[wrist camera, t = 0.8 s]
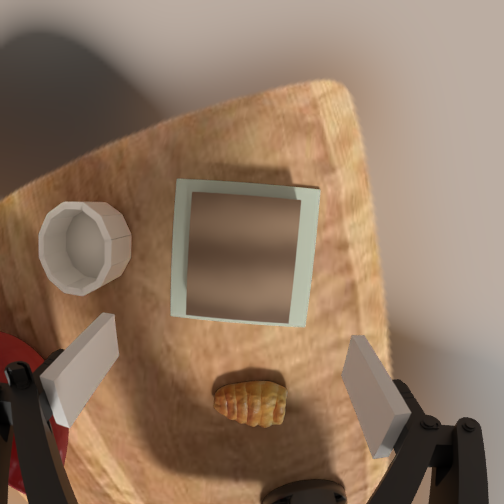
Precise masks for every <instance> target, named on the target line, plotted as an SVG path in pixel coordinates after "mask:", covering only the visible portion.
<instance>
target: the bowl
mask: <svg viewBox="0 0 504 504" xmlns="http://www.w3.org/2000/svg"><path fill="white" fill-rule="evenodd" d="M131 239H132V234H131V232H130V230H129V228H128V226H127V224H126V221H125V219H124V217H123V215H122V214H121V213H120V212H119V211H117V210H116V209H115V208H113V207H112V206H111V205H109V204H108V203H106V202H62V203H61V204H59V205H58V206H57V207H55V208H54V209H53V210H51V211H50V212H49V213H48V214H47V215H46V218H45V220H44V222H43V225H42V227H41V229H40V232H39V257H40V258H39V259H40V261H41V264H42V266H43V268H44V271H45V273H46V275H47V277H48V278H49V280H50V281H51V282H52V283H53V284H54V285H56V286H57V287H58V288H59V289H60V290H61V291H62V292H64V293H67V294H73V295H78V296H85V295H87V294H88V293H90V292H92V291H94V290H96V289H98V288H100V287H101V286H103V285H105V284H107V283H109V282H110V281H112V280H114V279H116V278H118V277H120V276H121V275H122V273H123V271H124V269H125V268H126V266H127V264H128V262H129V260H130V259H131Z"/></svg>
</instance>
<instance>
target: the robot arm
mask: <svg viewBox="0 0 504 504" xmlns="http://www.w3.org/2000/svg"><path fill="white" fill-rule="evenodd" d="M118 356H119V350H118V342H117V334H116V325H115V315H114V314H110V313H104V312H103V313H102V314H100V315H99V316H98V317H97V318H96V319H95V320H94V321H93V322H92V323H91V324H90V325H89V326H88V327H87V328H86V329H85V330H84V331H83V332H82V333H81V334H80V335H79V336H78V337H77V338H76V339H75V340H74V341H73V342H72V343H71V344H70V345H69V346H68V347H67V348H66V349H65V350H63V349H59V350H57V351H55V352H53V353H52V354H51V355H50V356H49V357H48V358H47V359H46V360H45V361H44V362H43V364H41V365H40V366H39V367H38V368H37V369H36V370H35V371H34V372H33V373H32V371H31V368H30V365H29V364H28V363H27V362H24V361H15V362H11V363H10V364H8V365H7V366H6V367H5V370H4V372H5V375H6V378H7V380H8V383H1V382H0V504H7V501H8V500H7V499H8V480H9V468H10V458H11V449H12V442H13V435H14V436H15V443H16V449H17V455H18V460H19V465H20V470H21V475H22V479H23V484H24V488H25V492H26V495H27V499H28V503H29V504H78V502H77V500H76V497H75V495H74V492H73V490H72V487H71V485H70V482H69V480H68V477H67V474H66V471H65V469H64V466H63V463H62V460H61V457H60V454H59V450H58V447H57V444H56V440H55V437H54V433H53V430H52V426H51V423H50V421H49V419H50V418H51V416H52V415H53V416H54V419H55V421H56V423H57V424H59V425H62V426H65V427H68V428H71V426H72V424H73V423H74V421H75V420H76V418H77V417H78V415H79V414H80V412H81V411H82V409H83V408H84V406H85V405H86V403H87V402H88V400H89V399H90V397H91V396H92V394H93V393H94V391H95V390H96V388H97V387H98V385H99V384H100V382H101V381H102V380H103V378H104V377H105V375H106V374H107V372H108V371H109V369H110V368H111V367H112V365H113V364H114V362H115V361H116V359H117V358H118ZM341 376H342V379H343V381H344V384H345V386H346V389H347V391H348V394H349V396H350V399H351V402H352V404H353V407H354V409H355V412H356V415H357V417H358V420H359V423H360V425H361V428H362V431H363V433H364V436H365V439H366V441H367V444H368V447H369V449H370V452H371V455H372V458H373V459H376V458H383V457H389V455H390V453H391V451H392V450H393V448H394V451H395V453H396V456H395V457H394V459H393V461H392V462H391V464H390V466H389V467H388V470H387V471H386V473H385V475H384V476H383V478H382V480H381V481H380V483H379V485H378V486H377V488H376V489H375V491H374V493H373V494H372V496H371V497H370V499H369V500H368V502H367V503H366V504H411V503H412V501H413V499H414V496H415V494H416V493H417V490H418V488H419V486H420V484H421V481H422V479H423V477H424V474H425V472H426V470H427V467H432V476H431V486H430V496H429V504H489V499H488V481H487V469H486V459H485V451H484V443H483V437H482V430H481V426H480V424H479V423H478V422H477V421H476V420H474V419H472V418H468V417H463V418H461V419H459V420H458V421H457V423H456V425H455V426H449V425H441V423H440V421H439V420H438V419H436V418H435V417H433V416H430V415H425V413H424V412H423V410H422V408H421V407H420V405H419V404H418V402H417V401H416V399H415V398H414V396H413V394H412V393H411V391H410V390H409V388H408V386H407V385H406V384H405V383H403V382H402V381H401V380H399V379H397V380H392V379H391V378H390V376H389V374H388V373H387V371H386V369H385V368H384V366H383V364H382V363H381V361H380V360H379V358H378V356H377V355H376V353H375V352H374V350H373V348H372V347H371V345H370V344H369V342H368V340H367V339H366V337H365V336H364V335H352V336H351V340H350V344H349V348H348V352H347V356H346V360H345V364H344V367H343V371H342V375H341ZM262 504H347V497H346V493H345V490H344V488H343V487H342V486H341V485H339V484H337V483H335V482H332V481H327V480H305V481H299V482H294V483H291V484H287V485H284V486H282V487H280V488H277V489H276V490H274V491H272V492H271V493H269V494H268V495H267V496H266V497H265V499H264V500H263V503H262Z"/></svg>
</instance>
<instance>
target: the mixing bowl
mask: <svg viewBox="0 0 504 504" xmlns="http://www.w3.org/2000/svg"><path fill="white" fill-rule="evenodd" d="M15 361H24V362H27V363H28V364H29V365H30V368H31V371H32V373H33V372H34V371H35V370H36V369H37V368H38V367H39V366H40V365H41V364H43V362H44V359H43V358H42V357H41V356H40V355H39V354H38V353H37V352H36V351H35V350H34V349H33V348H32V347H30V346H29V345H28V344H26V343H25V342H23V341H22V340H20V339H18V338H16V337H15V336H13V335H10V334H7V333H3V332H0V382H1V383H8V380H7V378H6V375H5V372H4V370H5V367H6V366H7V365H8V364H10V363H11V362H15ZM49 421H50V423H51V426H52V430H53V433H54V437H55V440H56V444H57V447H58V450H59V454H60V457H61V460H62V463H63V466H64V463H65V458H66V452H67V445H68V434H69V428H68V427H65V426H62V425H59V424H57V423H56V421H55V419H54V416H53V415H52V416H51V418H50V419H49ZM8 485H9V486H11V487H13V488H14V489H16V490H18V491H20V492H22V493H23V494H26V492H25V488H24V484H23V479H22V475H21V470H20V465H19V460H18V455H17V449H16V443H15V436H14V435H13V442H12V449H11V458H10V468H9V480H8Z"/></svg>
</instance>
